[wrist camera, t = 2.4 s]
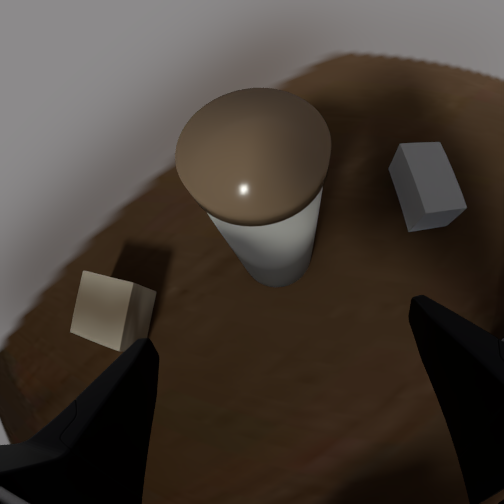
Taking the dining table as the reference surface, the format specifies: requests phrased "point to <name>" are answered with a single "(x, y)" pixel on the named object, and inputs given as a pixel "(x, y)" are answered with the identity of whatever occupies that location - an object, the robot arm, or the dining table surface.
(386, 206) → the dining table surface
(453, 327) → the robot arm
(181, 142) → the ceramic jar
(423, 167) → the grey block
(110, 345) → the birch block
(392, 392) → the dining table surface
